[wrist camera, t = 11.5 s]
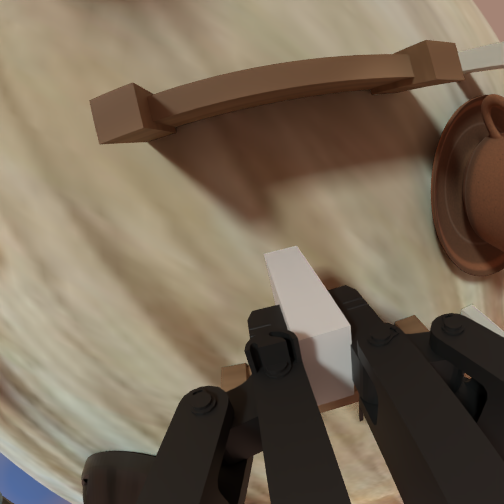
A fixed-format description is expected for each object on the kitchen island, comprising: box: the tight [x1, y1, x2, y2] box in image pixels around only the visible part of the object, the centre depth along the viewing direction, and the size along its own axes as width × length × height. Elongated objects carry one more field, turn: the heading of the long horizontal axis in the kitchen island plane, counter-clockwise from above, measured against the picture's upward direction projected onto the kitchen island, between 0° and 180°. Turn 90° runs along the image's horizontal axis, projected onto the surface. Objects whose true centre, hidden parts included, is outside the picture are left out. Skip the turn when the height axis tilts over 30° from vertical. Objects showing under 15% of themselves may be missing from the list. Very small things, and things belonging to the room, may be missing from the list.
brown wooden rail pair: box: [89, 40, 465, 413], centre depth 14 cm, size 18×14×6 cm
